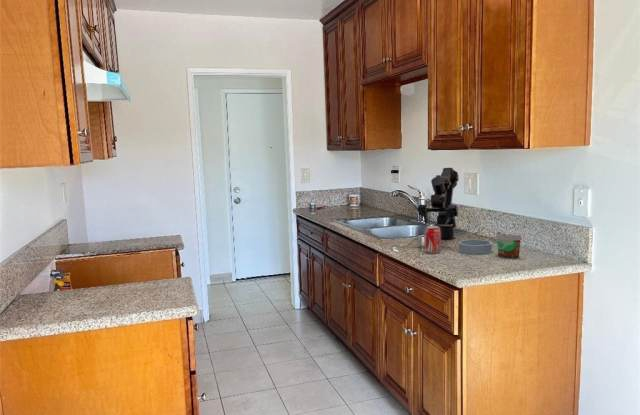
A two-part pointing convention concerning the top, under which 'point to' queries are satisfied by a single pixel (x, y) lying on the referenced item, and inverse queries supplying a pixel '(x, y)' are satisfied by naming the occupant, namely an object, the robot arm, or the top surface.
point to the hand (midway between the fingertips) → (435, 224)
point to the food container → (508, 245)
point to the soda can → (433, 239)
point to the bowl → (475, 246)
